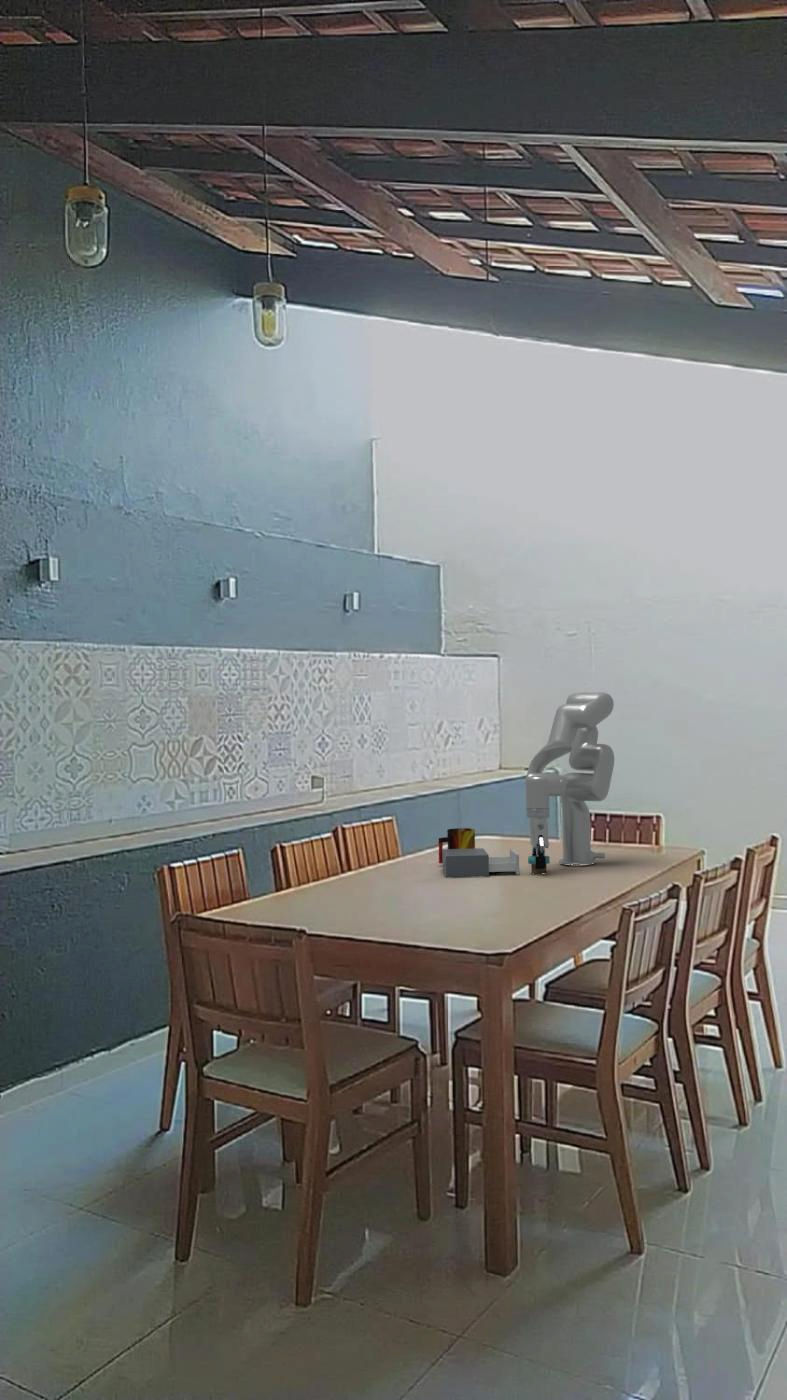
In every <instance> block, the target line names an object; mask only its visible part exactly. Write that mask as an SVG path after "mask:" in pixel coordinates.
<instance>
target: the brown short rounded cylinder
mask: <svg viewBox="0 0 787 1400" xmlns="http://www.w3.org/2000/svg"><path fill="white" fill-rule="evenodd" d="M530 866H531V867H530V868H531V874H532V873H534V874H533V875H535V874H542V873H547V872H548V870H547V869H548V867H547V866H548V864H546V868H545V869H536V864H530ZM547 874H548V873H547Z"/></svg>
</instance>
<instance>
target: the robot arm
mask: <svg viewBox="0 0 787 1400" xmlns="http://www.w3.org/2000/svg"><path fill="white" fill-rule="evenodd" d="M613 710H614V699H613V697H612V695H611V694H610V693H608V692H577V693H576V692H575V693H571V694H570V695H568V697H567V698H566V702H565V703H563V704H561V705H559V706H558V708H557V709H556V711H555V714H554V717H553V722H552V725H551V729H550V734H549V736H548V737H549V738H548V741H547V743H546V744H545V745H544V746H543V747H542V748H541V749H540V750H539V751H538V752H537V753H536V754H535V755H534V756H533V758H532V759H531V761H530V763H529V765H528V769H527V773H526V776H525V782H524V783H525V803H526V804H525V805H526V806H525V807H526V808H525V810H526V811H525V813H526V816H525V817H526V819H529V840H530V841H529V843H530V846H531V848H532V849H531V851H532V853H531V856H537V857H536V869H545V868H546V857H545V856H546V850H545V848H546V849H548V848H549V847H550V843H549V829H548V828H549V827H548V819H549V818H550V797H560V803H561V817H562V818H561V819H562V820H561V821H562V822H561V823H562V824H561V825H562V827H561V828H562V857H563V858H562V859H559V860H558V864H559V863H561V864H570V865H571V864H573V865H580V864H592V863H595V862H596V859H606V858H605V857H606V856H605V855H606V854H605V852H594V851H593V850H592V848H591V847H592V846H591V842H592V841H591V812H590V809H589V807H588V805H587V803H586V802H602V801H604V800H605V799H606V798H607V796H608V794H609V791H610V786H611V781H612V776H613V771H614V767H615V766H614V765H615V753H614V750H613V748H612V747H611V746H610V745H609V744H606V743H598V740H599V739H598V738H599V730H598V727H597V725H599V724H600V723H601V722H603V721H605V719H607V718H608V717H609V716H610V715H611V714H612V712H613ZM568 754H569V756H568V757H569V758H568V765H569V766H570V768H571V769H572V770H576V771H581V772H568V773H564V774H563V775H562V774H559V773H543V772H544V770H545V768H546V767H547V766H548V765H549V764H550V763H552V762H553V761H554V760H557V759H559V758H562V757H563V756H565V755H568ZM589 772H590V773H589ZM591 772H593V773H591Z"/></svg>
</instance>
